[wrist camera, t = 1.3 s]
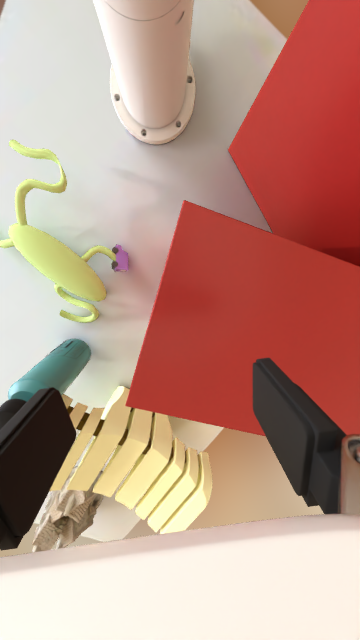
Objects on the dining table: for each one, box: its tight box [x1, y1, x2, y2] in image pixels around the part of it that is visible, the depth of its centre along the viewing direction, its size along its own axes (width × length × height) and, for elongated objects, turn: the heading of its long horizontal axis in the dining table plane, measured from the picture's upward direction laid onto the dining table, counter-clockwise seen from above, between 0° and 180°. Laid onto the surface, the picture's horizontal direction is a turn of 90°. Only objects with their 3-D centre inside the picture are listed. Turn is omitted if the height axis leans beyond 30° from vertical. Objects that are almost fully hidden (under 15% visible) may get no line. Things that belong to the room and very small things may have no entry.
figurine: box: [0, 140, 128, 323], centre depth 33 cm, size 18×27×6 cm
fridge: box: [125, 200, 360, 436], centre depth 29 cm, size 18×26×24 cm
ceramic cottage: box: [32, 467, 103, 552], centre depth 49 cm, size 16×16×15 cm
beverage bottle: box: [0, 339, 91, 430], centre depth 33 cm, size 6×7×20 cm
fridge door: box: [228, 0, 360, 267], centre depth 24 cm, size 7×26×24 cm, turn 37°
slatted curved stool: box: [49, 386, 213, 534], centre depth 40 cm, size 30×16×18 cm, turn 59°
